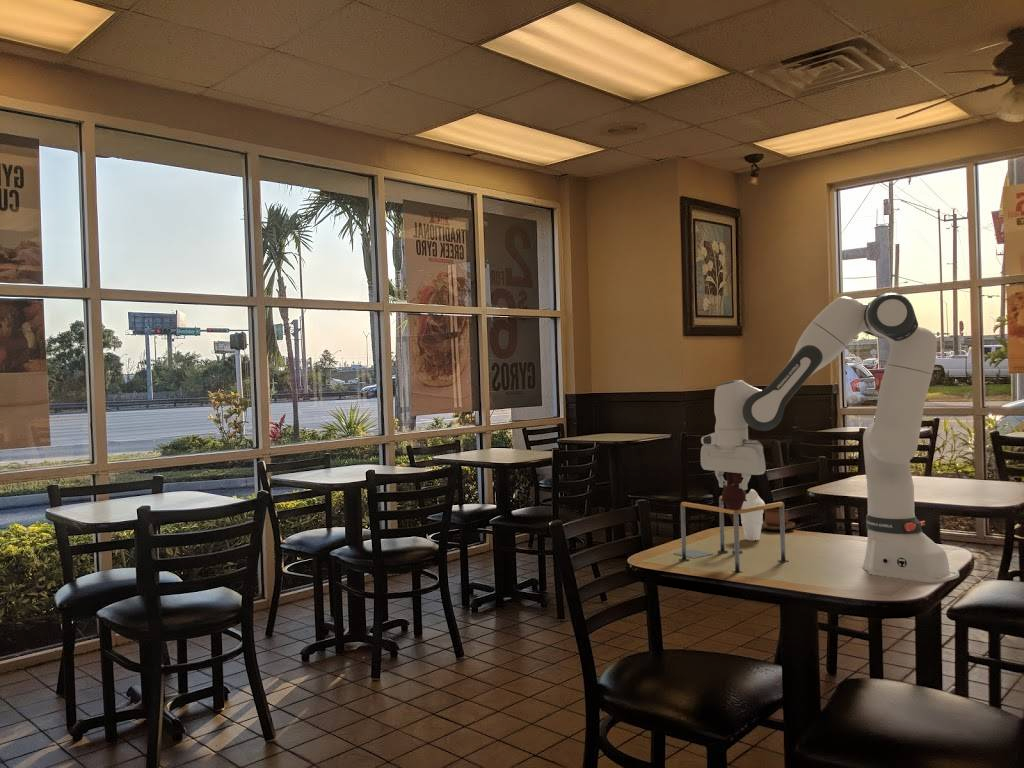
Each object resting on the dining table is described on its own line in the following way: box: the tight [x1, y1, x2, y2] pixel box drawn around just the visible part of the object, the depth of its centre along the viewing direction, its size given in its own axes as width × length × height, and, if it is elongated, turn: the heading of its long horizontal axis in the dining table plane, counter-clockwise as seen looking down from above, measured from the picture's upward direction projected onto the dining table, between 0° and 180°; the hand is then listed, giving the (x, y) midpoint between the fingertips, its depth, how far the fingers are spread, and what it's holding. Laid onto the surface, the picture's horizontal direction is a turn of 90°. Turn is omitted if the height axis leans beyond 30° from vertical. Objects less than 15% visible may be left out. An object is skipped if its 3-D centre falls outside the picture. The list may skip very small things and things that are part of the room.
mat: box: [673, 549, 714, 559], centre depth 234 cm, size 8×8×1 cm
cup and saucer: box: [761, 508, 796, 531], centre depth 269 cm, size 12×12×6 cm
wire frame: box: [678, 495, 789, 574], centre depth 223 cm, size 21×21×17 cm
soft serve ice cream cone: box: [740, 488, 766, 542], centre depth 253 cm, size 8×8×16 cm
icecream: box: [721, 472, 747, 526], centre depth 221 cm, size 7×7×15 cm
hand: (733, 488), depth 221 cm, fingers open, 6 cm apart
